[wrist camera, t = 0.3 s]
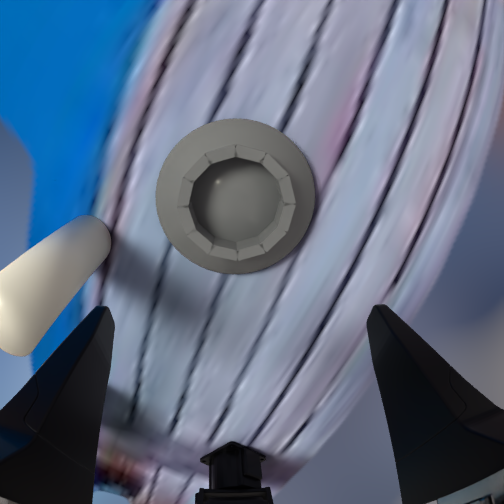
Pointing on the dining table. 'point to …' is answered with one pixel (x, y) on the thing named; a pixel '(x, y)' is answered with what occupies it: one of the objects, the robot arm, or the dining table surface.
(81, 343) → the robot arm
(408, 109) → the dining table surface
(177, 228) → the holder
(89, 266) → the candle
